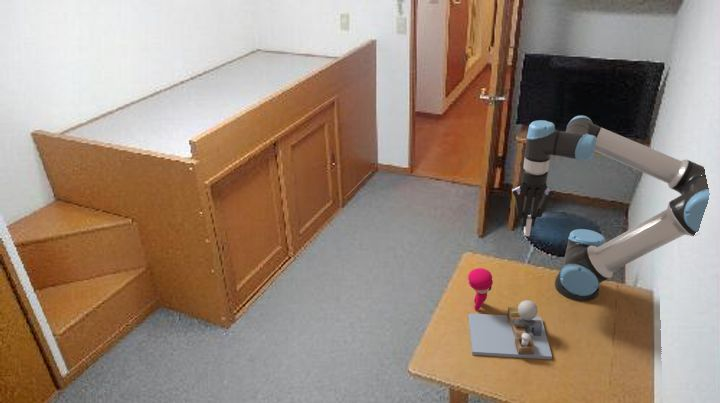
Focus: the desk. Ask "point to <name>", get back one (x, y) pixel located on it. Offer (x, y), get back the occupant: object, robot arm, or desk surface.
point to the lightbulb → (527, 310)
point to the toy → (480, 285)
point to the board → (503, 337)
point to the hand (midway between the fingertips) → (526, 233)
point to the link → (519, 333)
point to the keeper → (530, 325)
